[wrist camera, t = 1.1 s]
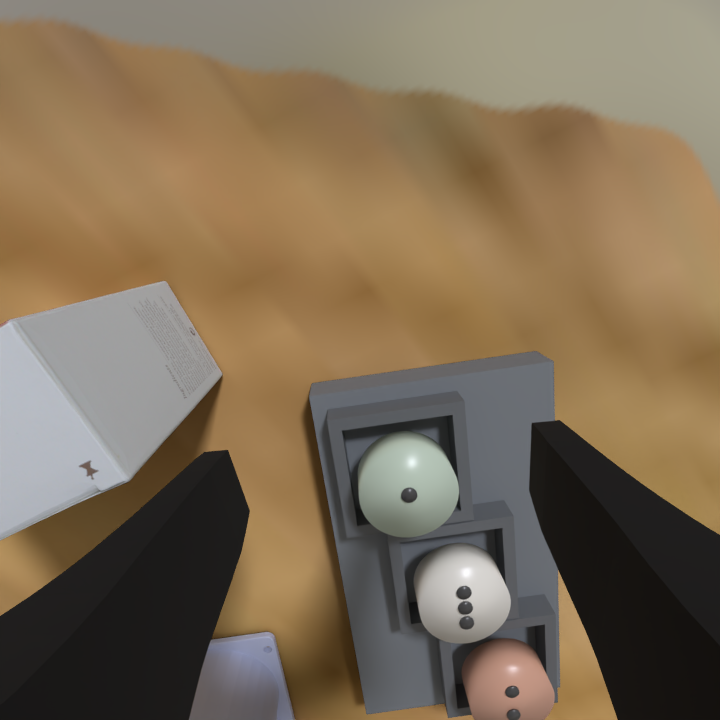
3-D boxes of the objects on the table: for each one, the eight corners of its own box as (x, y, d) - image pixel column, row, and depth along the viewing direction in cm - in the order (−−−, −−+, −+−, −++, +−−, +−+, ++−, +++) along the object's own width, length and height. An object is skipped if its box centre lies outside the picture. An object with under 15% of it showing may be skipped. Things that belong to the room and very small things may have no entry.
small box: (168, 278, 22) (13, 312, 11) (227, 375, 23) (135, 482, 13) (32, 348, 22) (-228, 440, 12) (97, 438, 24) (-87, 588, 14)
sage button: (452, 506, 22) (463, 531, 20) (364, 519, 22) (366, 545, 20) (445, 424, 20) (455, 442, 19) (351, 438, 20) (352, 457, 19)
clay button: (540, 693, 25) (556, 729, 23) (464, 704, 25) (474, 741, 23) (538, 632, 24) (554, 665, 22) (458, 644, 24) (468, 678, 22)
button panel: (545, 657, 29) (571, 710, 26) (365, 682, 29) (367, 739, 26) (536, 351, 23) (567, 369, 20) (311, 383, 23) (306, 406, 20)
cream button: (500, 607, 23) (513, 638, 21) (418, 618, 23) (424, 651, 21) (495, 536, 22) (509, 563, 20) (409, 549, 22) (415, 577, 20)
